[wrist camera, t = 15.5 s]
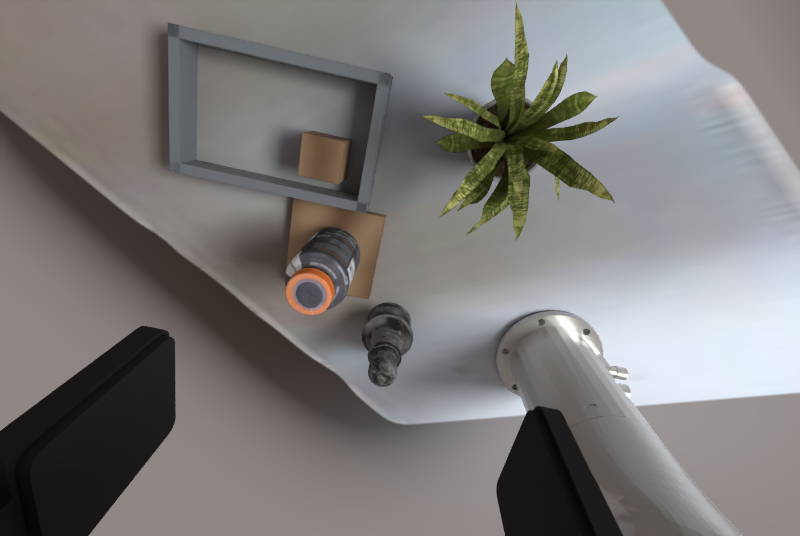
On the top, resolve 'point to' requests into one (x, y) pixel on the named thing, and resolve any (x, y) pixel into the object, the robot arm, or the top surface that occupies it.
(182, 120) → the bin
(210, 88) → the top surface
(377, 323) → the stone chess piece
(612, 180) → the top surface
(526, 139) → the house plant
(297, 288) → the pill bottle
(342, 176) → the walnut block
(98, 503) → the robot arm
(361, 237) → the pad
